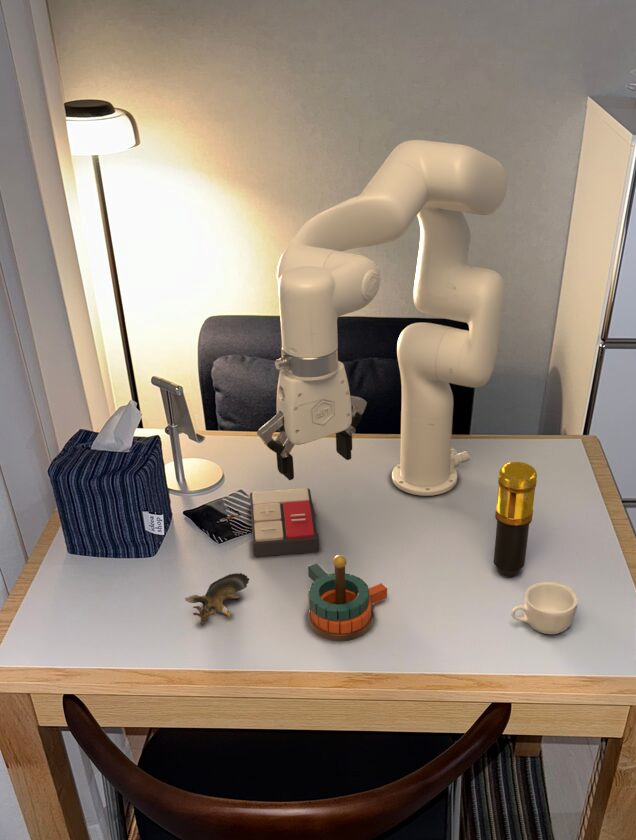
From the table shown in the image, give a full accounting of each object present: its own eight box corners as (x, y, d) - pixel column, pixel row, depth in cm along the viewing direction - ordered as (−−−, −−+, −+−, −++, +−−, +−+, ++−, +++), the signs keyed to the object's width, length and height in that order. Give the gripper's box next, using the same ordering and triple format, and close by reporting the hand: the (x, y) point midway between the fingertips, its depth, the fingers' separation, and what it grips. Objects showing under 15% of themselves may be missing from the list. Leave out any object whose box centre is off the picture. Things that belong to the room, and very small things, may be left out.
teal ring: (380, 607, 138) (380, 596, 137) (329, 629, 134) (328, 619, 133) (337, 564, 147) (336, 555, 146) (287, 584, 143) (286, 574, 142)
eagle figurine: (231, 631, 137) (260, 588, 143) (202, 598, 134) (232, 556, 140) (201, 636, 142) (230, 595, 148) (172, 604, 140) (203, 564, 145)
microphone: (571, 570, 151) (586, 467, 140) (499, 586, 148) (509, 482, 137) (554, 550, 156) (568, 449, 145) (484, 565, 152) (493, 463, 142)
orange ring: (331, 641, 135) (330, 631, 134) (300, 607, 141) (300, 598, 140) (400, 611, 141) (400, 601, 140) (368, 580, 147) (368, 570, 146)
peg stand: (351, 590, 147) (350, 529, 140) (385, 625, 140) (386, 562, 133) (297, 613, 142) (293, 550, 136) (330, 650, 135) (328, 585, 129)
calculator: (252, 540, 152) (249, 488, 165) (254, 560, 155) (250, 507, 167) (317, 535, 154) (309, 484, 166) (318, 554, 156) (310, 503, 168)
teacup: (562, 605, 143) (566, 578, 141) (581, 637, 137) (586, 610, 134) (501, 613, 142) (504, 586, 139) (518, 646, 135) (521, 619, 133)
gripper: (267, 386, 117) (275, 496, 126) (378, 353, 125) (379, 459, 134) (241, 365, 122) (251, 471, 132) (349, 335, 130) (352, 438, 139)
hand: (315, 465), depth 133 cm, fingers open, 9 cm apart
